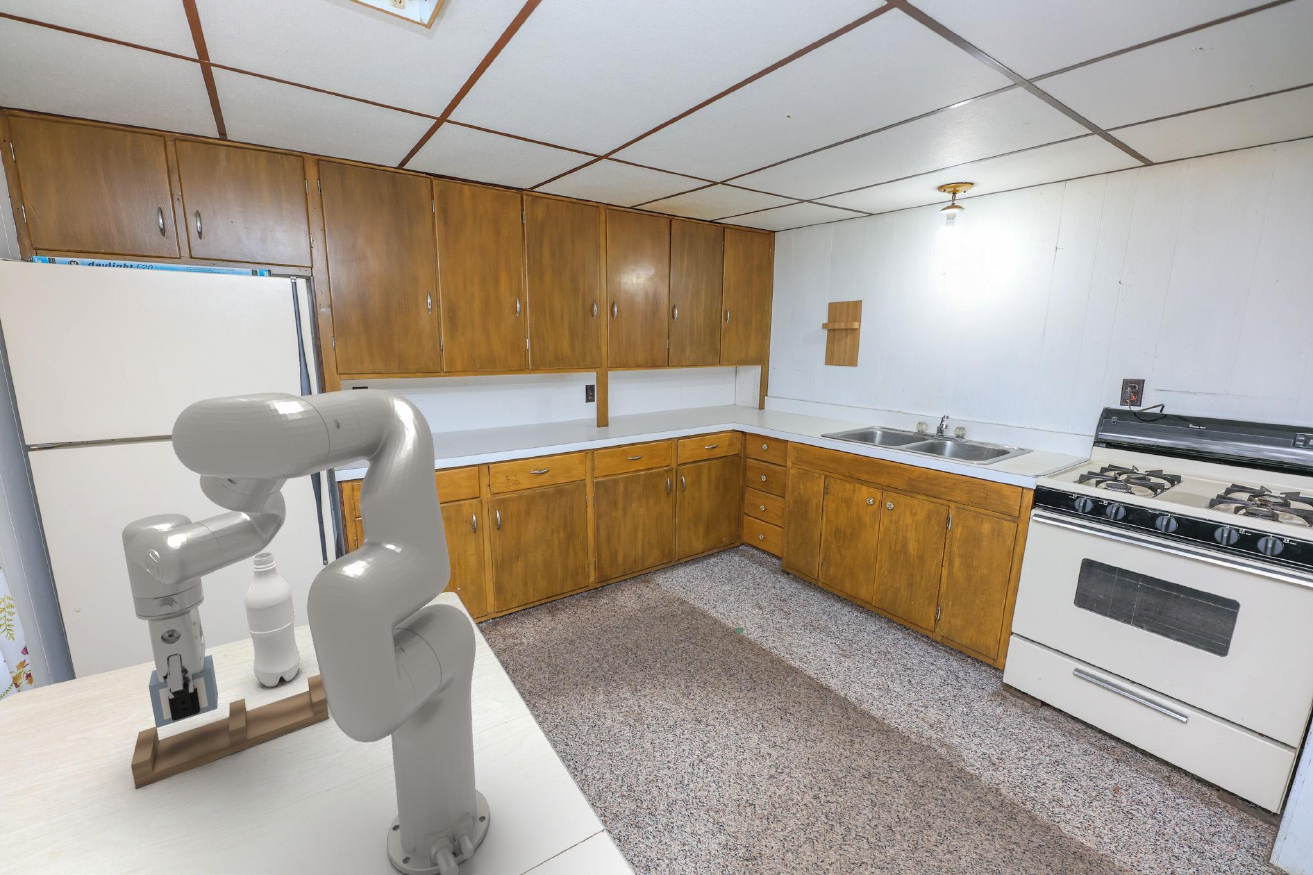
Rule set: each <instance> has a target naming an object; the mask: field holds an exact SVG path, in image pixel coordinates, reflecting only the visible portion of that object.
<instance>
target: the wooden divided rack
mask: <svg viewBox="0 0 1313 875" xmlns="http://www.w3.org/2000/svg"><path fill="white" fill-rule="evenodd" d="M307 685H308V690H307V691H303V692H300V693H297V694H294V695H292V696H291V695H290V696H288V697H285V698H282V699H279V700H276V701H273V702H270V703H267V704H264V705H261V706H258V707H255V708H251V709H249V710H247V706H246V699H245V697H244V698H241V699H238V700H235V701H232V702H229V710H228V711H229V712H228V714H229V715H228V716H227V717H225V718H222V719H219V720H215V721H212V722H210V723H206V724H204V725H201V726H197V727H194V728H192V729H189V730H186V731H183V732H180V733H177V734H173V735H171V736H168V737H164V738H161V739H159V734H158V728H156V726H154V727H150V728H146V729H144V730H141V731H139V732H138V733H137V739H136V741H135V747H134V751H133V755H132V759H131V763H130V767H131V772H132V777H133V778H132V779H133V782H134V787H135V789H139V788H142V787H145V786H148V785H151V784H153V783H155V782H159V781H161V780H164V779H168V778H169V777H172V776H175V775H178V774H181V773H184V772H186V771H188V770H191V769H195V768H197V767H200V766H203V765H205V764H208V763H211V762H213V761H216V760H219V759H221V758H224V757H227V756H229V755H230V756H231V755H233V754H235V753H238V752H240V751H243V750H246V749H249V748H252V747H254V746H257V745H260V744H262V743H265V742H268V741H271V740H273V739H277V738H279V737H282V736H285V735H287V734H291V733H292V732H295V731H298V730H301V729H303V728H306V727H309V726H311V725H314V724H317V723H321V722H323V721H325V720H328V719H329V718H330V716H329V707H328V704H327V701H326V697H325V693H324V688H323V684H322V680H321V675H320V673H318V674H316V675H313V676H310V677H308V678H307Z"/></svg>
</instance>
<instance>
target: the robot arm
mask: <svg viewBox="0 0 1313 875" xmlns="http://www.w3.org/2000/svg"><path fill="white" fill-rule="evenodd" d="M171 442H172V448H173V450H174V453H175V456H176V457H177V459H178V460H179V461H180V463H181V464H182V465H183V466H184V467H185V468H187V469H188V470H190V471H191V472H193V473H196V474H198V475H200V476H199V485H200V489H201V491H202V494H204V496H205V497H206V498H207V499H208V500H209V501H210V502H212V503H213V504H215V505H217V506H219V507H221V508H224V509H225V510H229V511H228V512H224V513H221V514H218V515H215V516H210V517H208V518H205V519H202V520H198V521H195V522H192V520H191V519H190V518H189V517H188V516H186V515H183V514H179V513H162V514H156V515H155V514H154V515H150V516H146V517H142V518H139V519H136V520H134V521H131V522H129V523H128V524H127V525H126V526H125V527H124V528H123V529H122V532H121V538H122V540H121V541H122V545H123V551H124V556H125V561H126V562H125V563H126V567H127V572H128V573H127V574H128V578H129V584H130V589H131V595H132V600H133V606H134V611H135V617H136V618H137V619H138V620H141V621H147V624H148V630H149V636H150V643H151V649H152V654H153V660H154V665H155V666H154V667H155V668H156V669H155V670H157V675H158V678H159V681H160V682H163V683H165V682H166V680H167V685H168V693H169V696H168V700H169V706H170V711H171V717H172V720H173V721H176V720H179V719H182V718H185V717H188V716H192V715H195V714H198V713H199V712H200V704H199V698H198V692H197V688H194V682H193V674H194V673H200V672H201V671H202V670H203V668H204V659H205V657H206V640H205V637H204V631H203V628H202V627H203V626H202V622H201V616H200V612H199V611H200V610H199V606H200V605H201V604H203V603H204V600H205V596H204V590H203V583H202V577H204V576H207V575H210V574H212V573H215V572H217V571H219V570H221V569H223V568H226V567H229V566H232V565H234V564H236V563H240V562H242V561H245V560H246V559H250V558H253V557H254V556H255V555H257V554H260V553H262V551H263V550H264V549H266V548H267V547H268V546H269V545H270V543H272V541H273V539H274V538H275V537H276V535H278V533H279V531H280V530H281V529H282V527H283V525H284V523H285V521H286V516H287V512H286V509H287V508H286V501H285V497H284V496H283V493H282V491H281V489H282V488H283V487H284V485H285V484H286V482H287V481H288V480H289V479H297V478H302V477H306V476H310V475H313V474H316V473H320V472H324V471H326V470H327V471H328V470H330V469H335V468H340V467H342V466H346V465H350V464H353V463H355V462H359V461H366V462H368V463H369V464H368V465H369V466H368V468H367V470H366V472H365V474H364V477H363V480H362V482H361V487H360V492H359V503H358V505H359V506H358V507H359V514H360V519H361V522H362V529H363V544H362V545H361V546H360V547H359V548H358V549H355V550H353V551H351V552H348V553H346V554H345V555H342V556H340V557H338V558H337V559H334V560H333V561H332V562H330V563H328V564H327V565H326V566H325V567H323V568H322V569H321V570H320V571H319V572H318V574H316V576H315V578H314V579H313V581H312V583H311V585H310V588H309V591H308V597H307V604H306V610H307V613H306V614H307V617H308V618H307V619H308V625H309V630H310V634H311V639H312V642H313V643H312V644H313V648H314V651H315V657H316V662H317V666H318V669H319V670H318V671H319V674H320V675H321V680H322V684H323V688H324V693H325V697H326V701H327V707H328V711H329V713H330V714H331V716H332V718H333V720H334V723H335V725H337V726H338V727H339V728H338V729H340V730H341V731H342V732H343V733H344V734H345V735H346V736H347V737H349V738H350V739H352V740H354V741H357V742H360V743H374V742H378V741H380V740H384V739H386V738H387V737H389V736H391V747H392V748H391V749H392V759H393V760H392V762H393V770H394V771H393V772H394V779H395V780H394V782H395V791H396V792H395V793H396V803H397V804H396V805H397V816H396V817H395V819H394V820H393V822H392V823H391V825H390V828H389V831H388V834H387V840H386V842H387V843H386V844H387V845H386V846H387V847H386V848H387V854H388V858H389V861H390V863H391V864H392V865H393V866H394V868H395V869H397V870H398V871H399V872H401V873H403V874H406V875H437V874H440V875H458V874H459V873H460V872H459V871H460V868H459V864H460V863H462V862H463V861H464V860H467V859H471V858H472V856H473V855H474V853H475V850H476V849H477V848H478V847H479V846H480V844H481V842H482V841H483V839H484V838H485V836H486V833H487V830H488V827H489V823H490V811H489V809H490V808H489V804H488V801H487V799H486V797H485V795H484V794H482V793H481V792H480V791H479V790H478V789H477V788H476V787H477V786H476V772H475V769H476V768H475V758H474V756H475V752H474V737H473V736H474V735H473V715H472V714H473V713H472V711H473V710H472V683H473V676H474V669H475V668H474V667H475V660H476V653H477V652H476V650H477V647H476V646H477V642H476V635H475V629H474V627H473V624H472V622H471V621H470V618H469V617H468V616H467V614H465V613H464V611H462V610H461V609H460V608H459V607H456V606H454V605H451V604H448V603H447V604H445V603H436V604H431V605H428V604H429V603H431V602H432V601H433V600H435V599H436V598H437V597H439V596H440V594H441V593H443V591H444V590H445V589H446V588H447V586H448V584H449V582H450V579H451V563H450V555H449V549H448V544H447V538H446V531H445V527H444V526H445V525H444V521H443V514H442V509H441V508H442V507H441V504H440V499H439V496H438V494H439V493H438V489H437V479H436V463H435V462H436V461H435V460H436V459H435V444H434V439H433V435H432V431H431V429H430V425H429V423H428V421H427V419H426V417H425V415H424V414H423V413H422V412H421V410H420V409H419V408H418V406H416V405H415V404H414V403H413V402H412V401H411V400H410V399H408V398H406V397H405V396H403V395H401V394H399V393H397V392H394V391H390V390H386V389H380V388H379V389H378V388H356V389H347V390H346V389H345V390H338V391H337V390H336V391H330V392H329V391H328V392H323V393H317V394H316V393H315V394H307V395H305V394H304V395H299V396H298V395H294V394H291V393H285V392H276V391H275V392H260V393H259V392H258V393H249V394H240V395H232V396H223V397H222V396H221V397H214V398H213V397H212V398H206V399H201V400H199V401H196V402H193V403H191V404H190V405H188V406H187V407H185V408H184V409H183V410H182V411H181V412H180V414H179V415H178V416H177V418H176V420H175V422H174V424H173V427H172V431H171ZM427 605H428V606H427ZM184 669H187V670H188V671H186V672H183V673H182V670H184ZM186 677H187V680H188V683H187V682H183V678H186Z"/></svg>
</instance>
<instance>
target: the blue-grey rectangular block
mask: <svg viewBox="0 0 1313 875" xmlns="http://www.w3.org/2000/svg"><path fill="white" fill-rule="evenodd" d="M186 671H188V670H187V669H184V670H182V673H183V672H186ZM183 682H187V683H188V680H187V677H186V678H183ZM193 682H194V688H197V692H198V698H199V704H200V712H199V713H198V714H195V715H192V716H188V717H185V718H182V719H179V720H176V721H173V720H172V717H171V711H170V706H169V700H168V696H169V693H168V685H167V680H166V682H165V683H163V682H160V681H159V678H158V675H157V670H156V669H155V670H152V671H151V675H150V678H149V683H148V689H149V690H148V691H149V696H150V702H151V707H152V712H153V718H154V723H155V724H154V725H155V727H156V728H157V729H158V728H161V727H165V726H167V725H171V724H174V723H178V722H180V721H183V720H186V719H190V718H193V717H196V716H200V715H202V714H205V713H209V712H212V711H215V710H217V709H218V704H219V703H218V700H219V697H218V696H219V692H218V691H219V690H218V685H217V679H216V672H215V665H214V661H213V655H212V654H211V655H205V659H204V668H203V670H202V671H201V672H200V673H194V674H193Z"/></svg>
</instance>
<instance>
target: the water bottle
mask: <svg viewBox="0 0 1313 875" xmlns="http://www.w3.org/2000/svg"><path fill="white" fill-rule="evenodd" d="M252 561H253V564H252V571H253V572H254V574H253V579H252V581H251V582H250V585H249V587H248V589H247V590H246V593H245V597H244V606H245V609H246V618H247V624H248V628H247V629H248V632H249V634H250V637H251V640H252V644H253V651H254V652H253V654H254V659H253V672H254V676H255V678H256V680H257V681H258V682H260V683H261V684H263V685H265V686H266V687H275V686H277V685H278V684H279V681H280V678H283V680H284V681H286V682H288V681H289V682H290V681H291V680H292V679H294V678H295V676H296V675H297V673H298V670H299V668H300V663H301V653H300V650H299V648H298V645H297V640H296V637H295V619H296V617H295V616H296V615H295V612H294V603H293V598H292V596H293V590H292V589H291V588H292V587H291V586H290V585H289V583H288V581H286V580H285V579H284V578H283V576H281V575H280V574H279V572H278V570H277V568H276V567H277V562H276V560H275V556H274V553H273V552H269V551H266V552H259V553H258V554H256V555H254V556H252Z"/></svg>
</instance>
